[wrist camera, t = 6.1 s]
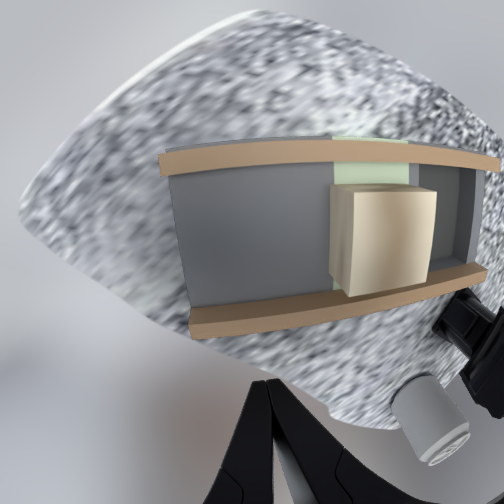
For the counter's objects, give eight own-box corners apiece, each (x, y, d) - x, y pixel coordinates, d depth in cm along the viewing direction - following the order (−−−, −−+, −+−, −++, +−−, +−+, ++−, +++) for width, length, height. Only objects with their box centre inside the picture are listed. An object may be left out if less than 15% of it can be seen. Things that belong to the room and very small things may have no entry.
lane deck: (466, 150, 19) (500, 155, 14) (456, 266, 23) (484, 284, 19) (173, 149, 17) (157, 148, 13) (197, 307, 21) (192, 343, 17)
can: (414, 368, 28) (462, 434, 16) (440, 373, 29) (482, 428, 18) (378, 408, 29) (413, 474, 18) (407, 409, 31) (441, 465, 20)
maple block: (405, 183, 17) (436, 191, 13) (399, 262, 19) (425, 281, 16) (329, 184, 16) (354, 192, 13) (328, 272, 18) (348, 297, 15)
